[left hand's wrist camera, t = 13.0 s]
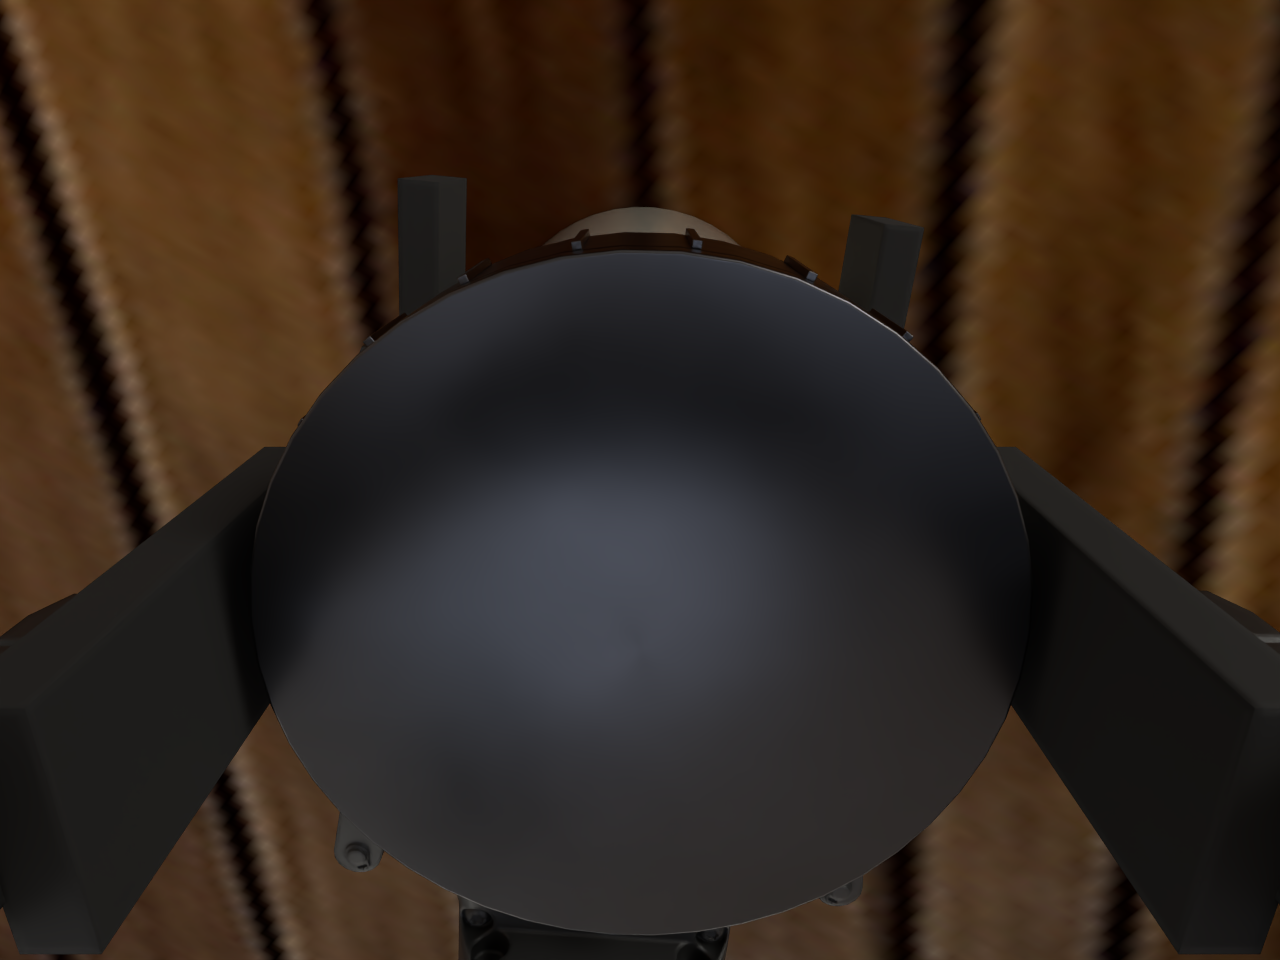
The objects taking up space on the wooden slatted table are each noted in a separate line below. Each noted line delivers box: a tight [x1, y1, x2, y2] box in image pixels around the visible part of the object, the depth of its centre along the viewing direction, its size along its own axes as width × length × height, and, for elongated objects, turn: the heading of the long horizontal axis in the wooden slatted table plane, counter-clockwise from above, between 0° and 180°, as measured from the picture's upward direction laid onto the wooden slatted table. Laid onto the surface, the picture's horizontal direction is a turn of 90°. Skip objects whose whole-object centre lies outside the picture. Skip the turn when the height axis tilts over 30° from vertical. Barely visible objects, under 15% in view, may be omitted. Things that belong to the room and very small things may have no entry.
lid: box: [250, 228, 1033, 935], centre depth 11 cm, size 9×9×2 cm
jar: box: [542, 207, 740, 246], centre depth 18 cm, size 8×8×15 cm
